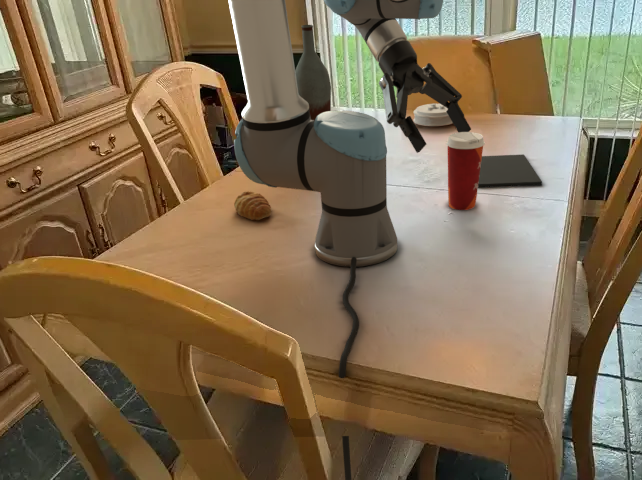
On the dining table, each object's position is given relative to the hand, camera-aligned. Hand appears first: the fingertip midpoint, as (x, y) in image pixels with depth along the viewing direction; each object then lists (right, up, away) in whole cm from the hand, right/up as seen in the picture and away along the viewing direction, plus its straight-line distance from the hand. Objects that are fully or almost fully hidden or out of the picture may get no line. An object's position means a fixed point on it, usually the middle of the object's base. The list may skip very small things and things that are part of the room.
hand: (444, 141), depth 126 cm
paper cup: (+4, -12, +4) cm, 13 cm away
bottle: (-28, +10, +36) cm, 47 cm away
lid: (+5, +27, +56) cm, 62 cm away
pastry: (-40, -13, +6) cm, 42 cm away
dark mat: (+16, 0, +19) cm, 25 cm away
